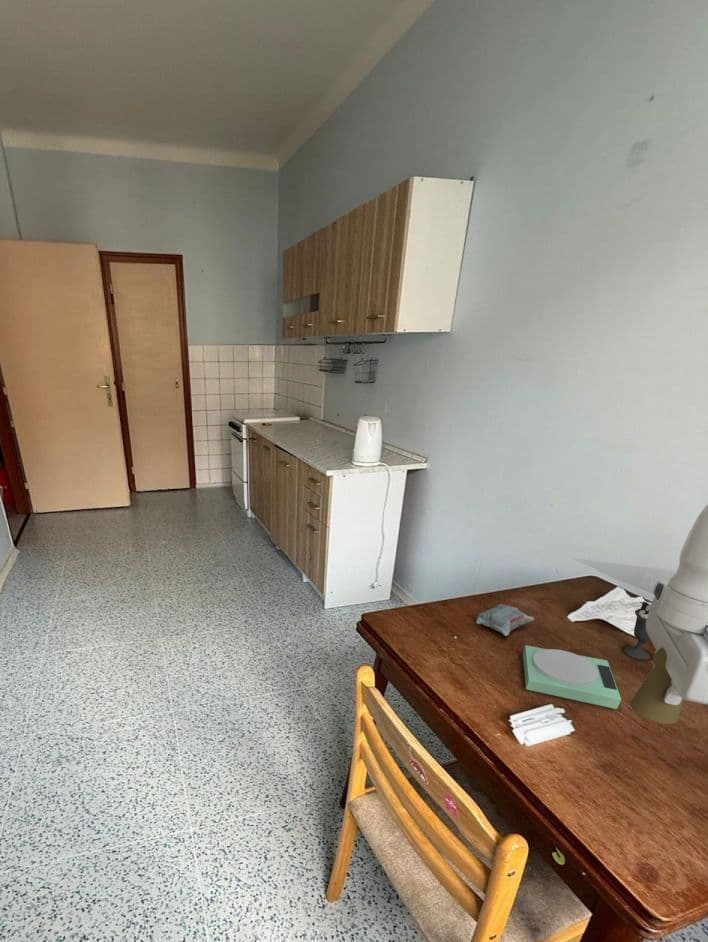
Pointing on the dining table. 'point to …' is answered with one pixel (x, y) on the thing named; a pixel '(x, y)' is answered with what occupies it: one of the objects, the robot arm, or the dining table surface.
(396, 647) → the dining table surface
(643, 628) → the sundae
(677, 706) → the dark olive tapered piece
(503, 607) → the packaged food
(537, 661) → the scale
